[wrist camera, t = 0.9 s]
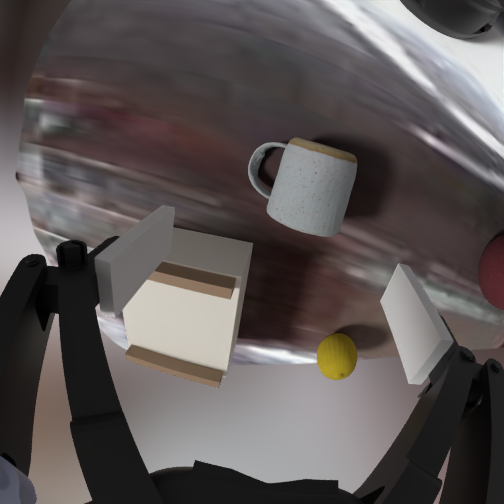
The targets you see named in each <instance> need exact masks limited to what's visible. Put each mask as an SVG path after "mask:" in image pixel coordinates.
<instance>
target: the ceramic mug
mask: <svg viewBox="0 0 504 504" xmlns="http://www.w3.org/2000/svg"><path fill="white" fill-rule="evenodd" d="M272 147H283V148H285V151H284V153H283V156H282V160H281V164H280V167H279V171H278V174H277V177H276V180H275V183H274V186H273V189H272V193H271V192H269V191H268V190H267V189H266V188H265V187H264V186H263V185H262V184H261V183H260V181H259V178H258V169H259V166H260V163H261V160H262V158H263V157H264V156H265V151H266V150H268V149H270V148H272ZM356 171H357V159H356V157H355V156H354V155H353V154H351V153H348V152H345V151H342V150H339V149H336V148H333V147H330V146H326V145H323V144H320V143H316V142H313V141H309V140H306V139H302V138H298V137H295V138H293V139H291V140H290V141H289V143H288V144H286V143H279V142H271V143H266V144H263V145H262V146H260V147H259V148H257V149H256V150H255V152H254V153H253V155H252V157H251V159H250V162H249V167H248V175H249V179H250V181H251V183H252V185H253V186H254V188H255V189H256V190H257V191H258V192H259V193H260V194H262V195H263V196H264V197H266V198H267V199H269V202H268V205H267V212H268V214H269V215H270V216H271V217H272V218H273V219H275V220H276V221H278V222H279V223H282V224H284V225H285V226H287V227H290V228H292V229H295V230H298V231H301V232H304V233H308V234H313V235H317V236H323V237H329V236H334V235H336V234H338V232H339V231H340V228H341V224H342V221H343V218H344V215H345V212H346V208H347V205H348V202H349V198H350V194H351V190H352V187H353V184H354V181H355V177H356Z"/></svg>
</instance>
